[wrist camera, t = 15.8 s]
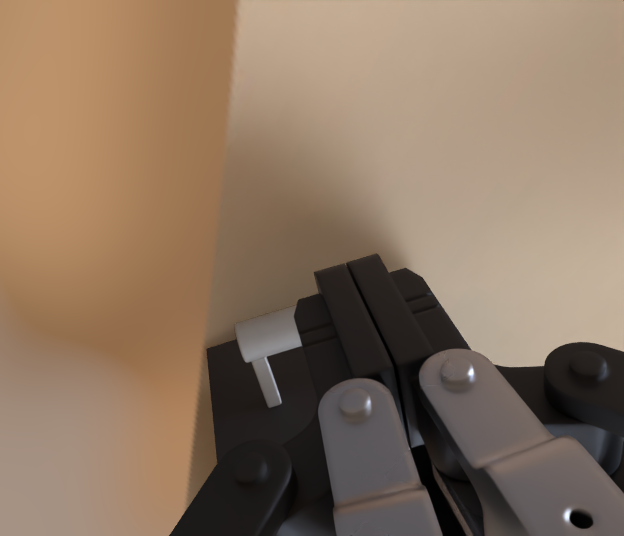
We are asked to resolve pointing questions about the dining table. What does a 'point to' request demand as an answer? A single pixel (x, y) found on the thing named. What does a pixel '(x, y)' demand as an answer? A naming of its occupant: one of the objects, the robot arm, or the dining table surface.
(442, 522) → the drawer
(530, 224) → the dining table surface
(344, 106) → the dining table surface
